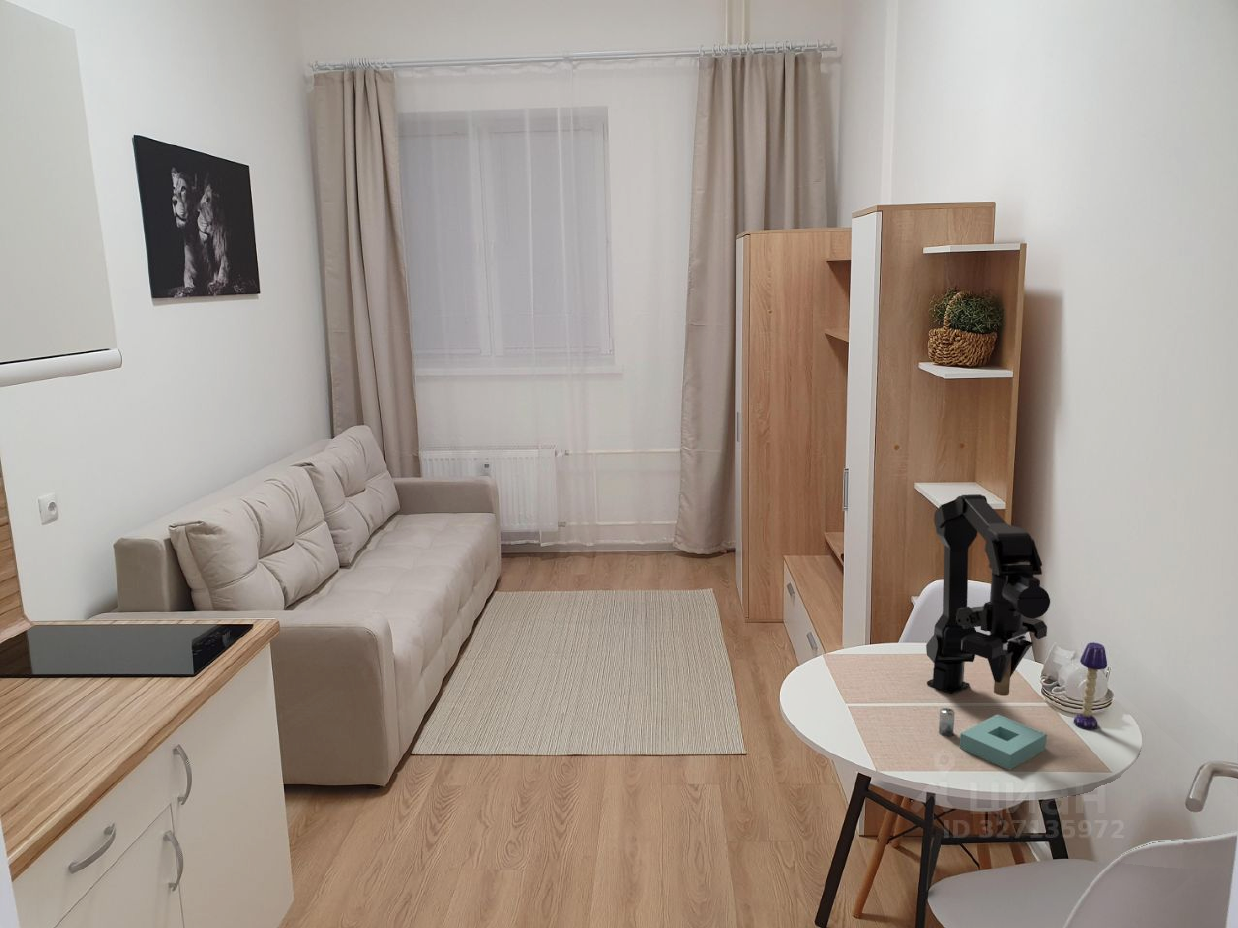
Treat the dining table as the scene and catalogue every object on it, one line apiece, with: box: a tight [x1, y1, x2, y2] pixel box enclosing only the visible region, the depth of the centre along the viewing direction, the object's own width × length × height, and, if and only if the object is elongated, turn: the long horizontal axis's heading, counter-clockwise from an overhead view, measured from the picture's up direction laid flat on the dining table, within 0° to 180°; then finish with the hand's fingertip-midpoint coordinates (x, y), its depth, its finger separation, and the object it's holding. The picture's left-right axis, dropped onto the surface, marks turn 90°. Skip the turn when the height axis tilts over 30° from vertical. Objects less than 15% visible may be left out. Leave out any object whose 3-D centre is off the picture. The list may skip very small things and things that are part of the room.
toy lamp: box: [1073, 641, 1108, 730], centre depth 181 cm, size 5×5×17 cm
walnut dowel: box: [993, 659, 1011, 697], centre depth 173 cm, size 3×3×8 cm
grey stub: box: [938, 707, 955, 737], centre depth 180 cm, size 3×3×4 cm
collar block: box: [959, 714, 1048, 771], centre depth 174 cm, size 12×10×3 cm
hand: (1002, 679), depth 173 cm, fingers closed on walnut dowel, 3 cm apart
